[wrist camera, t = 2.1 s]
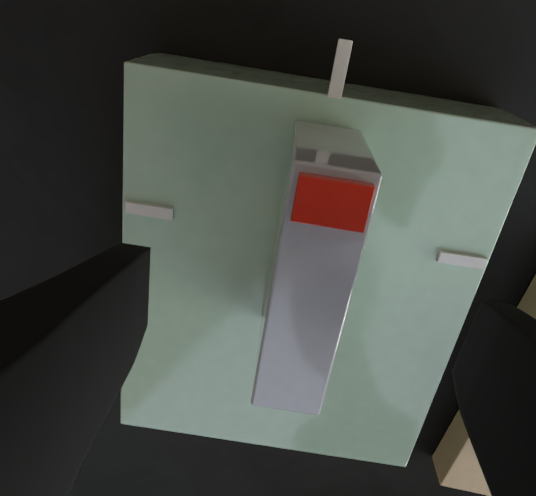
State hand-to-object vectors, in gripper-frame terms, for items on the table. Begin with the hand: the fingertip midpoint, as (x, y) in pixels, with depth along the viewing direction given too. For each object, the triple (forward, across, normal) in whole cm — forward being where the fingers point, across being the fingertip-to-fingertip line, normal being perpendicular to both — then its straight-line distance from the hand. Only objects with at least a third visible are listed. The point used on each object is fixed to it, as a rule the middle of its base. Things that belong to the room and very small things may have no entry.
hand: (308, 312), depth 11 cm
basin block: (+7, 0, +2) cm, 8 cm away
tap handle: (+4, 0, 0) cm, 4 cm away
